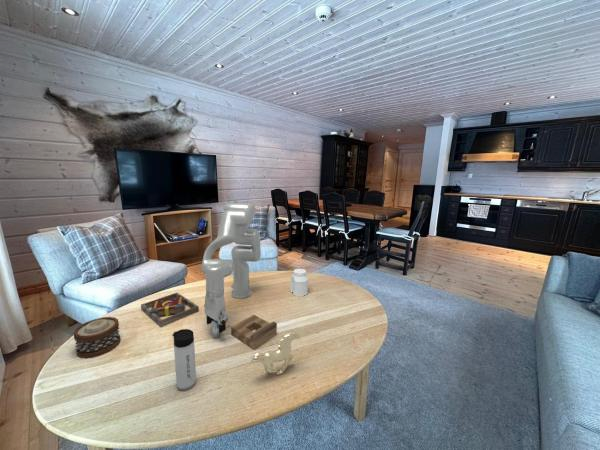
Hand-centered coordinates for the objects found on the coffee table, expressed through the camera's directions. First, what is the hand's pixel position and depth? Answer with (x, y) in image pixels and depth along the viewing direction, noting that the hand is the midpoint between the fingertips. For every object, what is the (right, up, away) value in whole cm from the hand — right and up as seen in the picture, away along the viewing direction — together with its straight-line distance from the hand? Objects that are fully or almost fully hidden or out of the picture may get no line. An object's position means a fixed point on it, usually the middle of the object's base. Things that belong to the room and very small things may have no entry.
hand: (216, 327), depth 111 cm
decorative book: (-33, 0, +21) cm, 39 cm away
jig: (+17, -5, +3) cm, 18 cm away
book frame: (-32, 0, +21) cm, 39 cm away
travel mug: (-2, -10, -25) cm, 27 cm away
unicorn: (+29, -10, -19) cm, 36 cm away
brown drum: (-47, -5, -8) cm, 48 cm away
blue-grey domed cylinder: (0, -5, +1) cm, 5 cm away
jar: (+38, +2, +47) cm, 61 cm away
